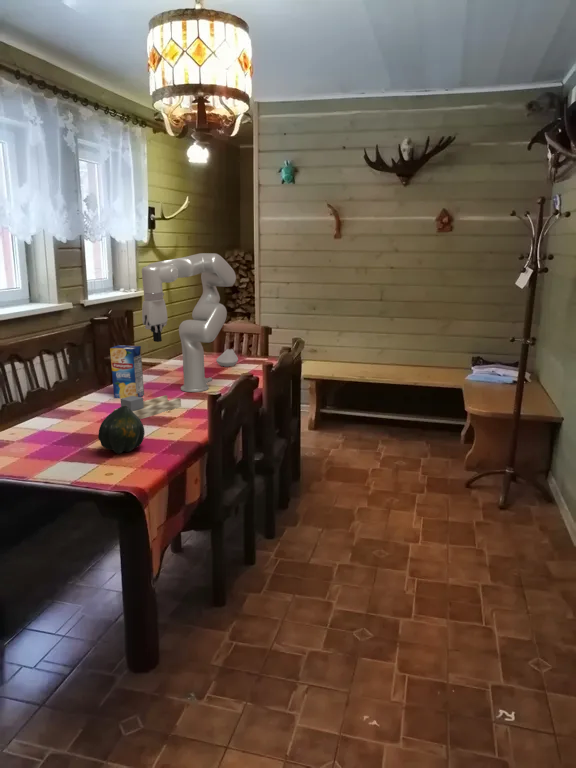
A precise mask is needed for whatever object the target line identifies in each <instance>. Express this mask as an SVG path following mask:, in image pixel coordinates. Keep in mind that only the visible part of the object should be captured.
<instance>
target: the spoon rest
mask: <svg viewBox="0 0 576 768" xmlns="http://www.w3.org/2000/svg"><path fill="white" fill-rule="evenodd" d="M234 350H235V349H233V348H231V349H229V348H226V349H225V350H224V352H223V353H221V354H220V355H219V356H218V357H217V358H215V361H216V362H217V365H219V366H221V367H223V366H224V368H230V367H229V366H231V367H233V366H235V365H237V363H238V361H239V358H238V356H237V354H236V353H235V351H234Z"/></svg>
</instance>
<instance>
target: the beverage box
mask: <svg viewBox="0 0 576 768" xmlns="http://www.w3.org/2000/svg"><path fill="white" fill-rule="evenodd" d="M109 351H110V352H109V353H110V364H111V376H112V387H113V398H114V399H122V398H126V397H130V396H137V397H141V398H143V397H144V396H145V389H144V386H145V385H144V375H143V361H142V360H143V358H142V357H143V356H142V346H141V345H124V344H123V345H120V344H118V345H115V346H112V347H109ZM143 395H144V396H143Z"/></svg>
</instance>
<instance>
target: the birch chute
mask: <svg viewBox="0 0 576 768" xmlns="http://www.w3.org/2000/svg"><path fill="white" fill-rule="evenodd" d="M143 404H144V408H143V409H140V410H136V411H133V413H134V414H135V415H136V416H137V417H138V418H139V419H140V420H143V419H145V418H150V417H152V416H155V415H159V414H162V412H163V413H165V411H166V412H169V411H172V410H175V408H176V409H179V408H181V407H182V400H181V398H180V397H178V398H175V399H171V400H168V395H166V394H165V395H162V396H158V397H153V398H151V399H147V400H143ZM178 407H179V408H178ZM116 409H117V408H115V409H113V411H115V410H116ZM171 409H172V410H171ZM168 410H169V411H168Z"/></svg>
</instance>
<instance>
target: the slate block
mask: <svg viewBox="0 0 576 768" xmlns="http://www.w3.org/2000/svg"><path fill="white" fill-rule="evenodd" d="M143 401H144V398H143V397H137V396H130V397H126V398H120V407H122V406H127V407H129V408H130V409H131V411H132V412H133V411H136V410H140V409H143V408H144V404H143Z"/></svg>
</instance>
